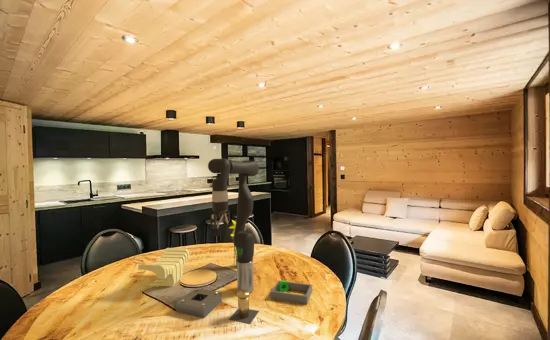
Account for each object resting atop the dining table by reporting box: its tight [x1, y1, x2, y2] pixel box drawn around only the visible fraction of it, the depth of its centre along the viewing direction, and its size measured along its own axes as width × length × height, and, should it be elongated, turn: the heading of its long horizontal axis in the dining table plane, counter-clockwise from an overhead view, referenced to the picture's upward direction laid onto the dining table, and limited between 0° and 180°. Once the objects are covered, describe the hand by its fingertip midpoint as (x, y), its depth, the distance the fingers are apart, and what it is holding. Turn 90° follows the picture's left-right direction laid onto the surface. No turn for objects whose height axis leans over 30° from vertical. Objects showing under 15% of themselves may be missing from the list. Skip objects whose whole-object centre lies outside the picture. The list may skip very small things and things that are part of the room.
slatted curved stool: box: [137, 247, 190, 287], centre depth 161 cm, size 30×16×18 cm, turn 173°
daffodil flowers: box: [228, 219, 249, 268], centre depth 186 cm, size 17×15×35 cm
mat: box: [228, 308, 260, 325], centre depth 126 cm, size 11×11×1 cm
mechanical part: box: [278, 279, 290, 293], centre depth 151 cm, size 12×6×8 cm, turn 110°
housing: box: [175, 287, 222, 319], centre depth 134 cm, size 16×16×6 cm
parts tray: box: [270, 280, 313, 305], centre depth 145 cm, size 14×20×4 cm
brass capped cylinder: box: [236, 290, 250, 318], centre depth 126 cm, size 6×6×11 cm
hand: (220, 233), depth 125 cm, fingers open, 8 cm apart
